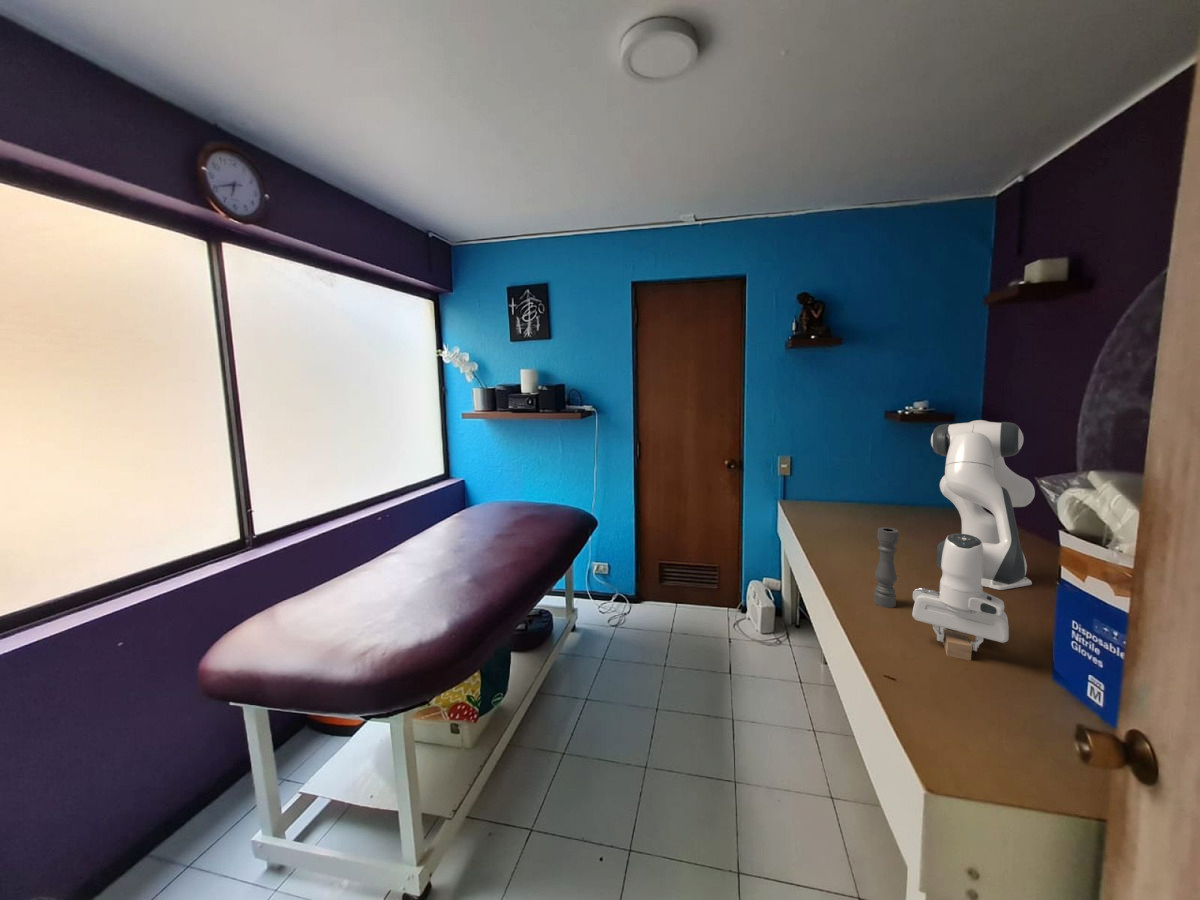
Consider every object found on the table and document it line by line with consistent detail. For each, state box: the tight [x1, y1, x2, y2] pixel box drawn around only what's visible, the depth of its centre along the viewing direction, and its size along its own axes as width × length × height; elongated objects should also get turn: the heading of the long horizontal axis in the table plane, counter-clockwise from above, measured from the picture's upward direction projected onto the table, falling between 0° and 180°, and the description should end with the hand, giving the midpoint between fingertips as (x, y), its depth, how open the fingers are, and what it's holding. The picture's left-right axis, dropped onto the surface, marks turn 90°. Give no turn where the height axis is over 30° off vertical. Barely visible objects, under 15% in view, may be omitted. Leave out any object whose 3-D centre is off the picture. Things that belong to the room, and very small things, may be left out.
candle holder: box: [873, 526, 899, 609], centre depth 149 cm, size 6×6×25 cm
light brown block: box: [942, 629, 973, 661], centre depth 123 cm, size 7×5×4 cm
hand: (956, 645), depth 123 cm, fingers closed on light brown block, 6 cm apart
